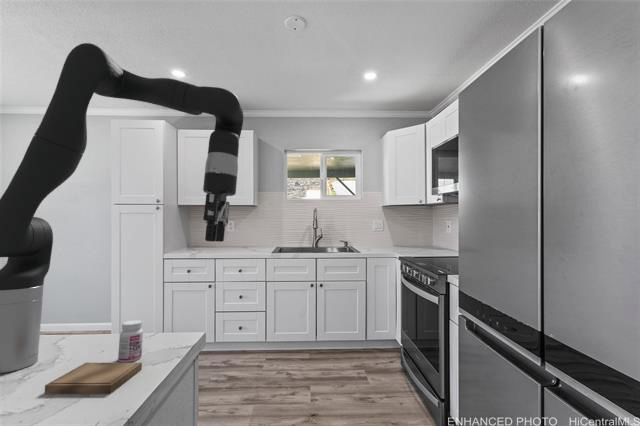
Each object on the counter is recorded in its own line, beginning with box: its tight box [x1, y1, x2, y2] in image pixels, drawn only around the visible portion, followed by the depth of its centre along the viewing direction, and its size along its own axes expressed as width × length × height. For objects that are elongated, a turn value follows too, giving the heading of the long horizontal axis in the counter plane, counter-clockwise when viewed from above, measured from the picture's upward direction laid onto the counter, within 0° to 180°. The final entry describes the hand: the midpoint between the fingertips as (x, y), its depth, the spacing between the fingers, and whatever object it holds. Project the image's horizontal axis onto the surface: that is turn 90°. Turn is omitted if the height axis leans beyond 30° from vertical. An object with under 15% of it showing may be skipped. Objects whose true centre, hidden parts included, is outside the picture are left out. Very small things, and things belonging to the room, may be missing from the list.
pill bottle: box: [117, 319, 144, 363], centre depth 72 cm, size 5×5×8 cm
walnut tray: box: [43, 362, 143, 395], centre depth 61 cm, size 12×10×2 cm
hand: (214, 241), depth 72 cm, fingers open, 8 cm apart
